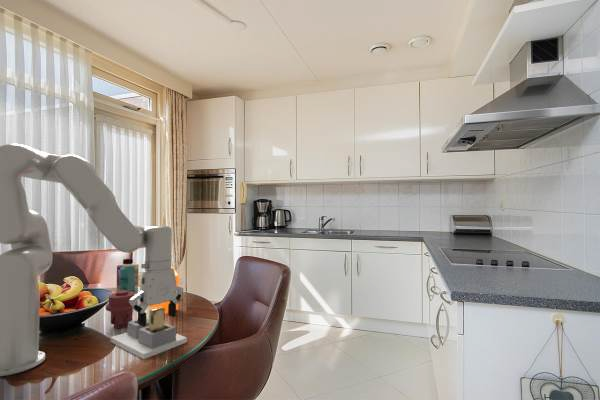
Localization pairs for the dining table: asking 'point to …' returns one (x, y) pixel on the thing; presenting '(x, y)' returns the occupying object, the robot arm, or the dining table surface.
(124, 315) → the mechanical component
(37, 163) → the robot arm
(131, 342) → the plate
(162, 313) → the brass pipe fitting
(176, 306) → the orange juice
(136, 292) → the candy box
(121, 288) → the beverage bottle
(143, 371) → the dining table surface
